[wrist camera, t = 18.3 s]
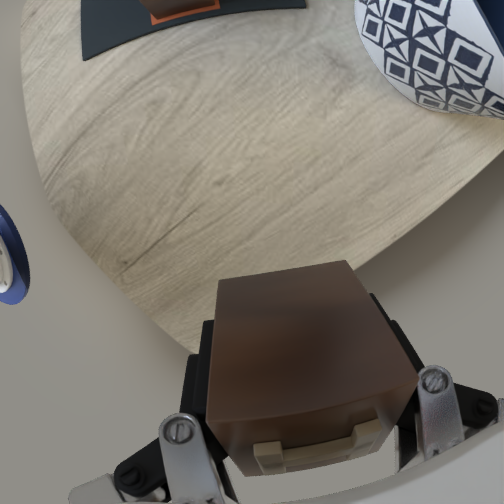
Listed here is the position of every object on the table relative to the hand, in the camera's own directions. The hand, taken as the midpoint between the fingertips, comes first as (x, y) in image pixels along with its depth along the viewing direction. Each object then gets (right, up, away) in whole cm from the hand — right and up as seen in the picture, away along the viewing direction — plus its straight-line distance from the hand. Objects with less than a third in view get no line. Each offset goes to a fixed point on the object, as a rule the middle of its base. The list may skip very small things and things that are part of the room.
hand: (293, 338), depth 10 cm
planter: (+15, +24, +5) cm, 29 cm away
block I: (0, +1, +1) cm, 1 cm away
